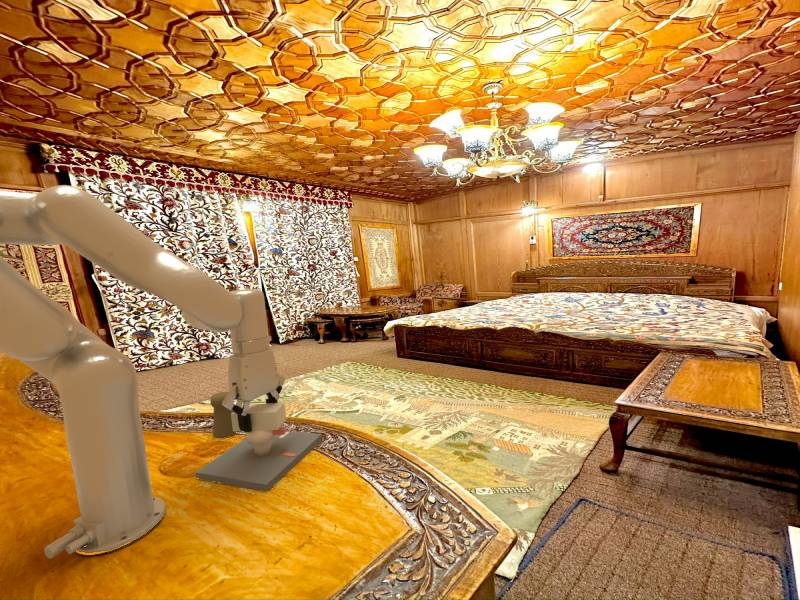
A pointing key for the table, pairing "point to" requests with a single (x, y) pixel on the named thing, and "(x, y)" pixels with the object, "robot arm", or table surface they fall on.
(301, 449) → the base plate
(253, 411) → the cream rectangular block
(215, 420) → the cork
